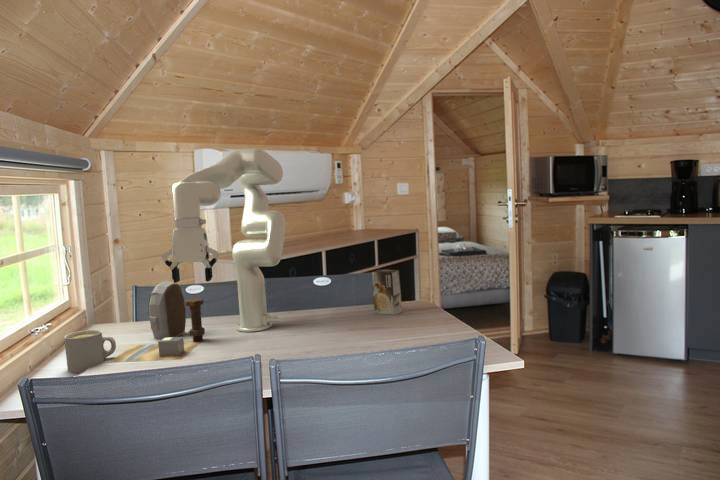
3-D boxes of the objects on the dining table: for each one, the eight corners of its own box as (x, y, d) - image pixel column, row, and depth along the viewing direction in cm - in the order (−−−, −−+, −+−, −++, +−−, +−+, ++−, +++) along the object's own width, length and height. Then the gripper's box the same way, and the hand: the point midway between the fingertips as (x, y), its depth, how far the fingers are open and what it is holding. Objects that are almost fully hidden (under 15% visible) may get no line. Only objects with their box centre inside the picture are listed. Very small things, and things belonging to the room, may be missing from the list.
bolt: (192, 343, 193) (188, 298, 191) (207, 342, 193) (204, 297, 192) (188, 348, 187) (184, 302, 185) (204, 347, 187) (200, 300, 186)
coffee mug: (65, 374, 167) (61, 340, 166) (70, 364, 176) (67, 332, 175) (115, 367, 170) (112, 334, 170) (118, 358, 180) (115, 326, 179)
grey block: (184, 351, 178) (183, 336, 178) (179, 355, 174) (177, 340, 173) (165, 352, 179) (163, 337, 178) (159, 356, 174) (158, 341, 174)
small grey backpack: (165, 344, 193) (159, 284, 191) (143, 343, 196) (138, 284, 194) (191, 332, 208) (186, 276, 206) (170, 332, 210) (165, 277, 208)
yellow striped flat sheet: (201, 346, 188) (200, 342, 188) (182, 364, 170) (181, 359, 170) (133, 349, 189) (133, 345, 189) (107, 367, 171) (107, 362, 171)
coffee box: (402, 311, 222) (400, 269, 220) (394, 315, 216) (392, 272, 215) (381, 310, 226) (379, 268, 225) (373, 313, 221) (371, 271, 219)
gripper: (220, 222, 176) (224, 278, 177) (164, 224, 177) (169, 280, 179) (213, 223, 169) (217, 282, 170) (154, 226, 170) (159, 284, 171)
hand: (192, 281), depth 174 cm, fingers open, 9 cm apart
